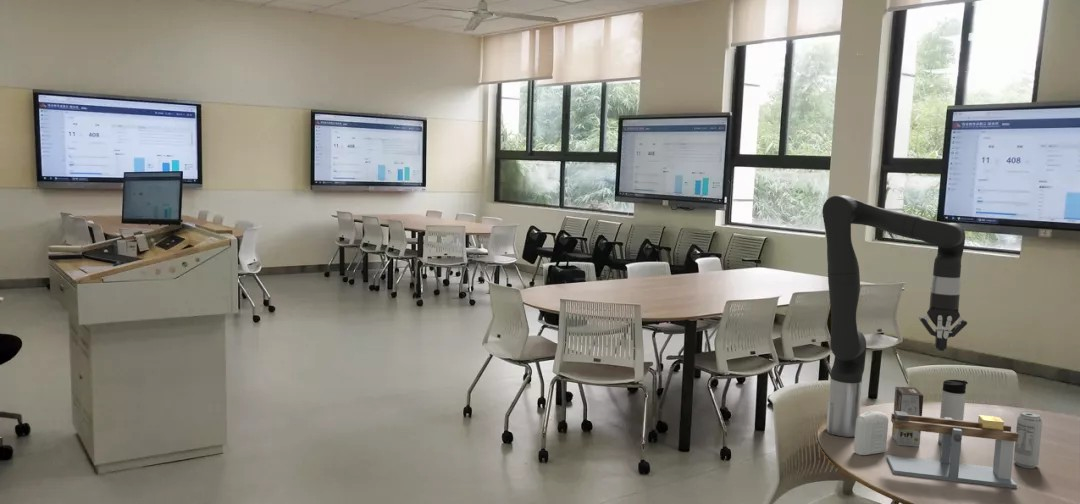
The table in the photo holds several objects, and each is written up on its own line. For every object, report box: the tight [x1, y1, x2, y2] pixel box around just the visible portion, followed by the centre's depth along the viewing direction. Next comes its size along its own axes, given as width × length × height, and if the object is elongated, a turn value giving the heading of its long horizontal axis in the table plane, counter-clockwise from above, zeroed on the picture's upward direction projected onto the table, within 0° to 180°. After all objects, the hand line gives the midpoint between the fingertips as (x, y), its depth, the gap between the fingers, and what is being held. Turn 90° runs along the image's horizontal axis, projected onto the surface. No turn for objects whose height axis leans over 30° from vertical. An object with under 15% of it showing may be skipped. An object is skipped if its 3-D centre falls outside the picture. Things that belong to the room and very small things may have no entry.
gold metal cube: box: [977, 414, 1005, 431], centre depth 211 cm, size 5×4×4 cm
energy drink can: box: [1013, 411, 1043, 469], centre depth 221 cm, size 6×6×15 cm
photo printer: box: [853, 410, 889, 456], centre depth 229 cm, size 10×4×12 cm, turn 115°
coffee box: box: [891, 386, 924, 448], centre depth 239 cm, size 9×6×16 cm
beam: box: [890, 411, 1018, 443], centre depth 213 cm, size 30×7×4 cm, turn 74°
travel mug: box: [938, 379, 969, 445], centre depth 237 cm, size 6×7×20 cm
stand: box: [886, 417, 1018, 489], centre depth 214 cm, size 30×13×14 cm, turn 74°
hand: (940, 350), depth 227 cm, fingers closed
